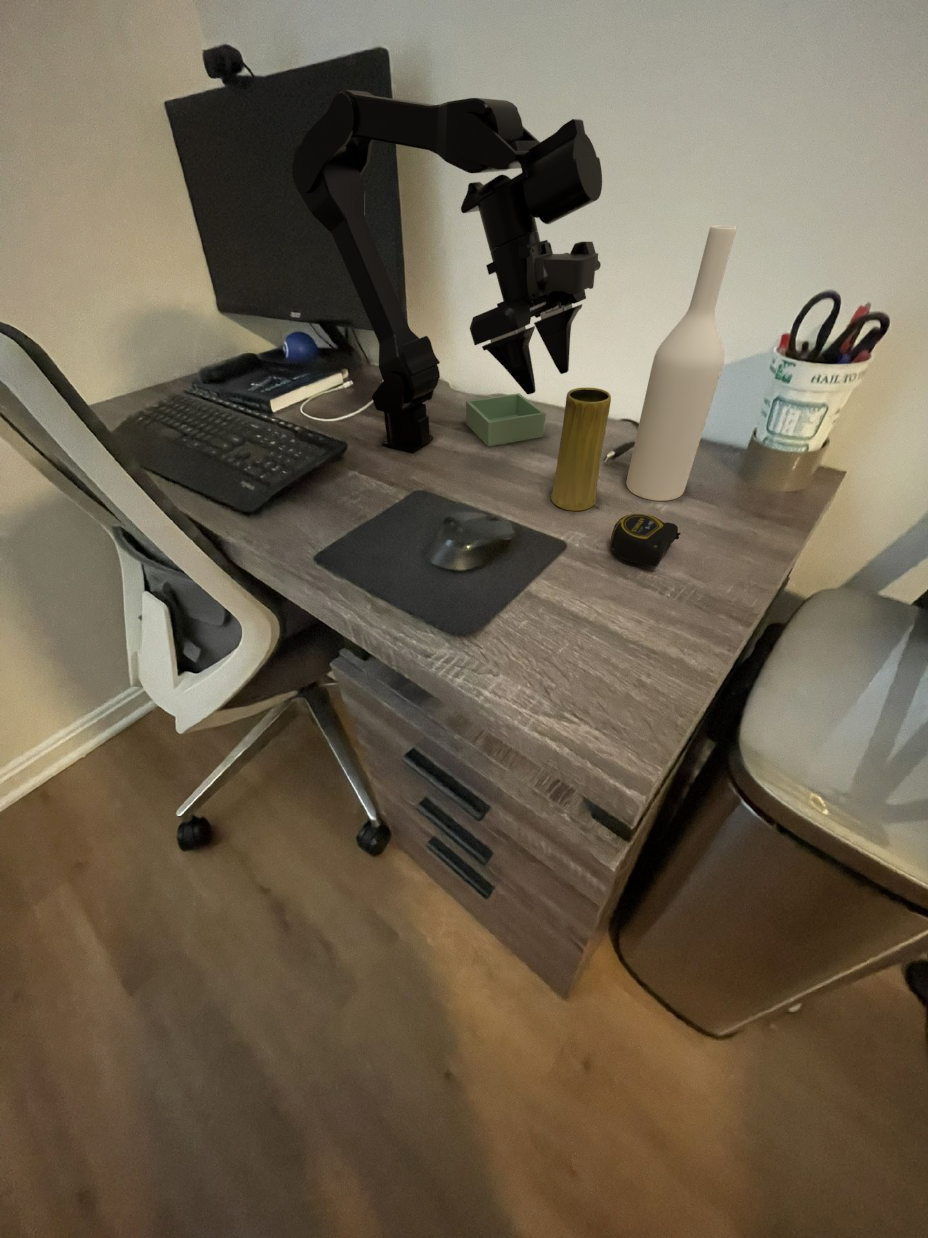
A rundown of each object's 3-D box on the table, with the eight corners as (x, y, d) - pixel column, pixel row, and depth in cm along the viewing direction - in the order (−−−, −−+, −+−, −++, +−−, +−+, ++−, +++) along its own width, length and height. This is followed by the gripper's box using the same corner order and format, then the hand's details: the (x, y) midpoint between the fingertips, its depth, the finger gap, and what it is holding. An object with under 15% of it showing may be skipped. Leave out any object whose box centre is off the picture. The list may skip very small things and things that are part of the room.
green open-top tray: (487, 446, 85) (488, 422, 82) (465, 423, 92) (465, 400, 89) (543, 437, 87) (545, 413, 85) (517, 415, 94) (519, 392, 92)
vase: (602, 496, 72) (622, 391, 63) (585, 516, 69) (603, 407, 59) (562, 485, 75) (575, 382, 65) (543, 503, 71) (554, 397, 61)
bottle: (616, 490, 74) (671, 227, 53) (639, 469, 78) (698, 220, 58) (671, 507, 70) (753, 232, 50) (692, 484, 75) (774, 224, 54)
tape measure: (653, 577, 59) (662, 550, 56) (598, 556, 62) (604, 529, 59) (675, 549, 63) (684, 523, 60) (622, 531, 66) (629, 505, 63)
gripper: (534, 218, 48) (573, 389, 56) (611, 203, 60) (635, 347, 67) (447, 264, 56) (491, 410, 63) (530, 243, 67) (560, 369, 74)
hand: (548, 382), depth 66 cm, fingers open, 9 cm apart
